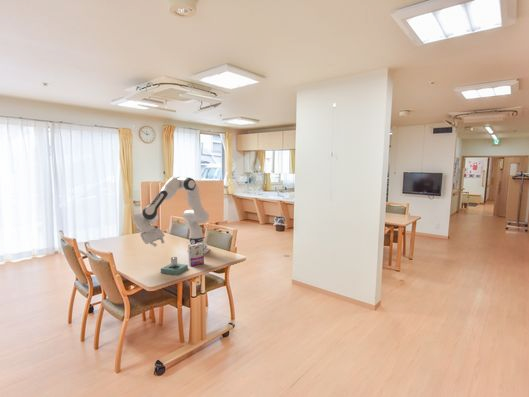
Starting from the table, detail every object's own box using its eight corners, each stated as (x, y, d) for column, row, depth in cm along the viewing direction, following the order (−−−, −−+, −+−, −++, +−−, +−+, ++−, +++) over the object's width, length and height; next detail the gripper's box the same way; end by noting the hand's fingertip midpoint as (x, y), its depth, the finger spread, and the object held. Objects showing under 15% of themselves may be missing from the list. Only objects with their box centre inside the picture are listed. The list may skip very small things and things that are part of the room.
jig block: (171, 266, 232) (171, 263, 231) (187, 268, 228) (187, 264, 227) (160, 272, 218) (160, 268, 218) (177, 274, 214) (177, 270, 214)
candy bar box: (201, 262, 243) (201, 242, 241) (204, 264, 239) (203, 244, 237) (188, 264, 237) (187, 244, 235) (190, 266, 232) (190, 246, 231)
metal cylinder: (173, 269, 226) (173, 256, 225) (178, 270, 224) (178, 257, 223) (170, 271, 221) (169, 258, 220) (175, 272, 220) (174, 258, 219)
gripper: (141, 231, 217) (153, 245, 215) (159, 225, 237) (170, 238, 235) (136, 236, 219) (148, 250, 217) (154, 230, 238) (165, 243, 237)
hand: (159, 244), depth 226 cm, fingers open, 8 cm apart
